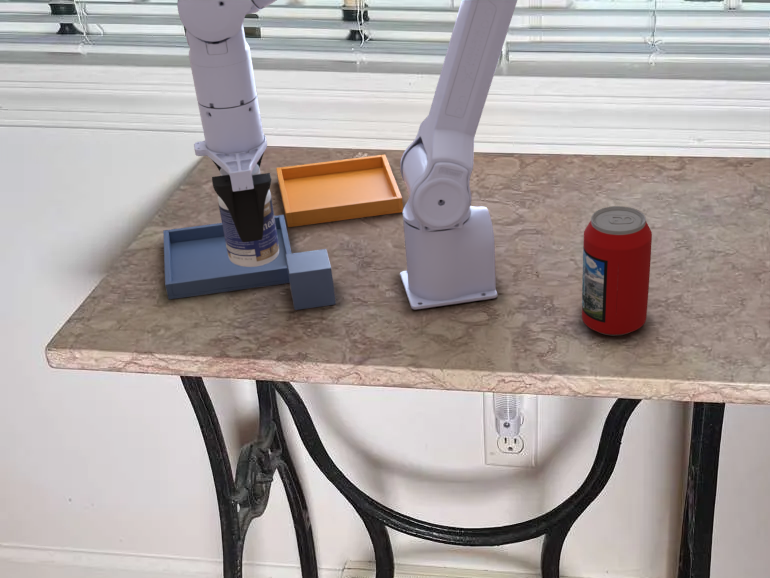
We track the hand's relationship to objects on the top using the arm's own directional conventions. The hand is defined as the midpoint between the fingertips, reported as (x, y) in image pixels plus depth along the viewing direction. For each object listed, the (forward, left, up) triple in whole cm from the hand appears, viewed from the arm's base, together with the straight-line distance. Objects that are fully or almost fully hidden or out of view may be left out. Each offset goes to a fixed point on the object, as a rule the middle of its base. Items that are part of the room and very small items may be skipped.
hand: (249, 226), depth 122 cm
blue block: (-5, -1, -10) cm, 11 cm away
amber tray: (-11, -25, -10) cm, 29 cm away
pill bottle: (0, 0, -4) cm, 4 cm away
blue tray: (+3, -12, -10) cm, 15 cm away
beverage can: (-35, +13, -10) cm, 39 cm away
